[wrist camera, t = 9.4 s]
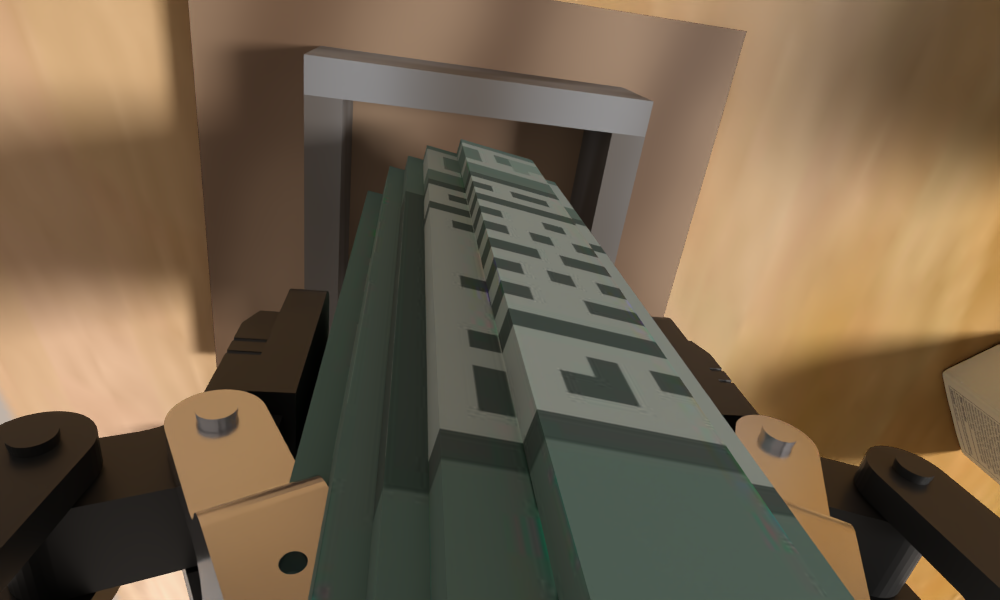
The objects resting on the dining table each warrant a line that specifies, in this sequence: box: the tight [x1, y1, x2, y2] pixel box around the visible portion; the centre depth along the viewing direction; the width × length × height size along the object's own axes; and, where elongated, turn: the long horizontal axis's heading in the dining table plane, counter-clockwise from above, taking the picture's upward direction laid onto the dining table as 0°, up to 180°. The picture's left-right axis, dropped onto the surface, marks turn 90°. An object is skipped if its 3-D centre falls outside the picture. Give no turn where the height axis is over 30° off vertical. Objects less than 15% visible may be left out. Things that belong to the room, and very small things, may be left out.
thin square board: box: [188, 0, 747, 368], centre depth 20 cm, size 17×14×4 cm
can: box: [286, 139, 855, 600], centre depth 11 cm, size 6×6×15 cm
